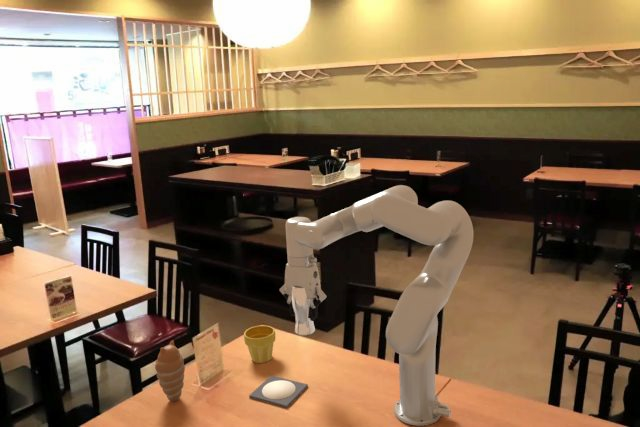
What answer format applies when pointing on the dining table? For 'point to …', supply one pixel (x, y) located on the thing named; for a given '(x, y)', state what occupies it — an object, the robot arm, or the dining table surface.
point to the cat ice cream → (170, 371)
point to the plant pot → (260, 342)
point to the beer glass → (302, 311)
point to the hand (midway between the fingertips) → (303, 316)
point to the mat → (278, 391)
